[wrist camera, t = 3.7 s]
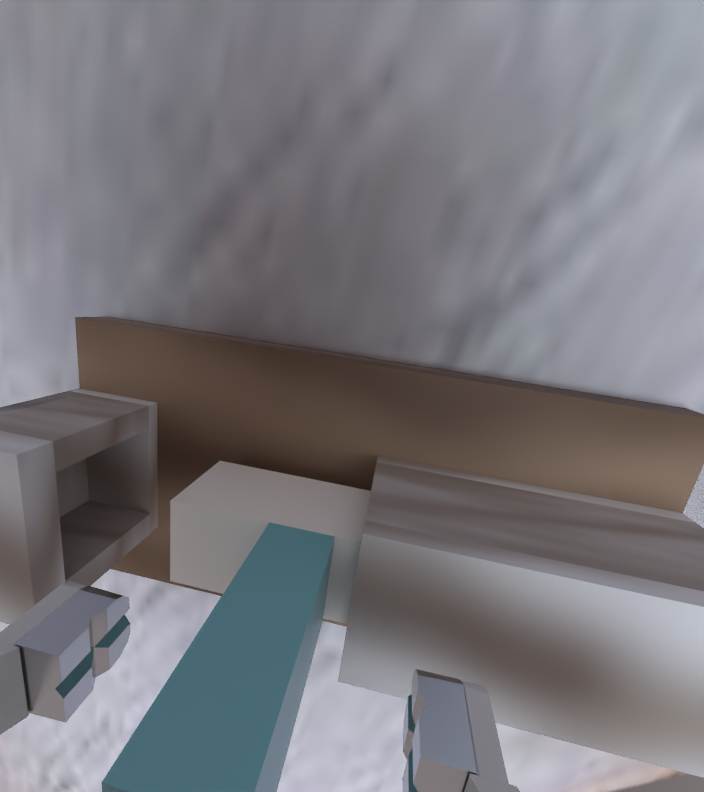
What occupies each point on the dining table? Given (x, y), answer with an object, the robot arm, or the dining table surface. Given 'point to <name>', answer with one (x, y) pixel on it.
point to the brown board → (399, 517)
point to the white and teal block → (245, 627)
